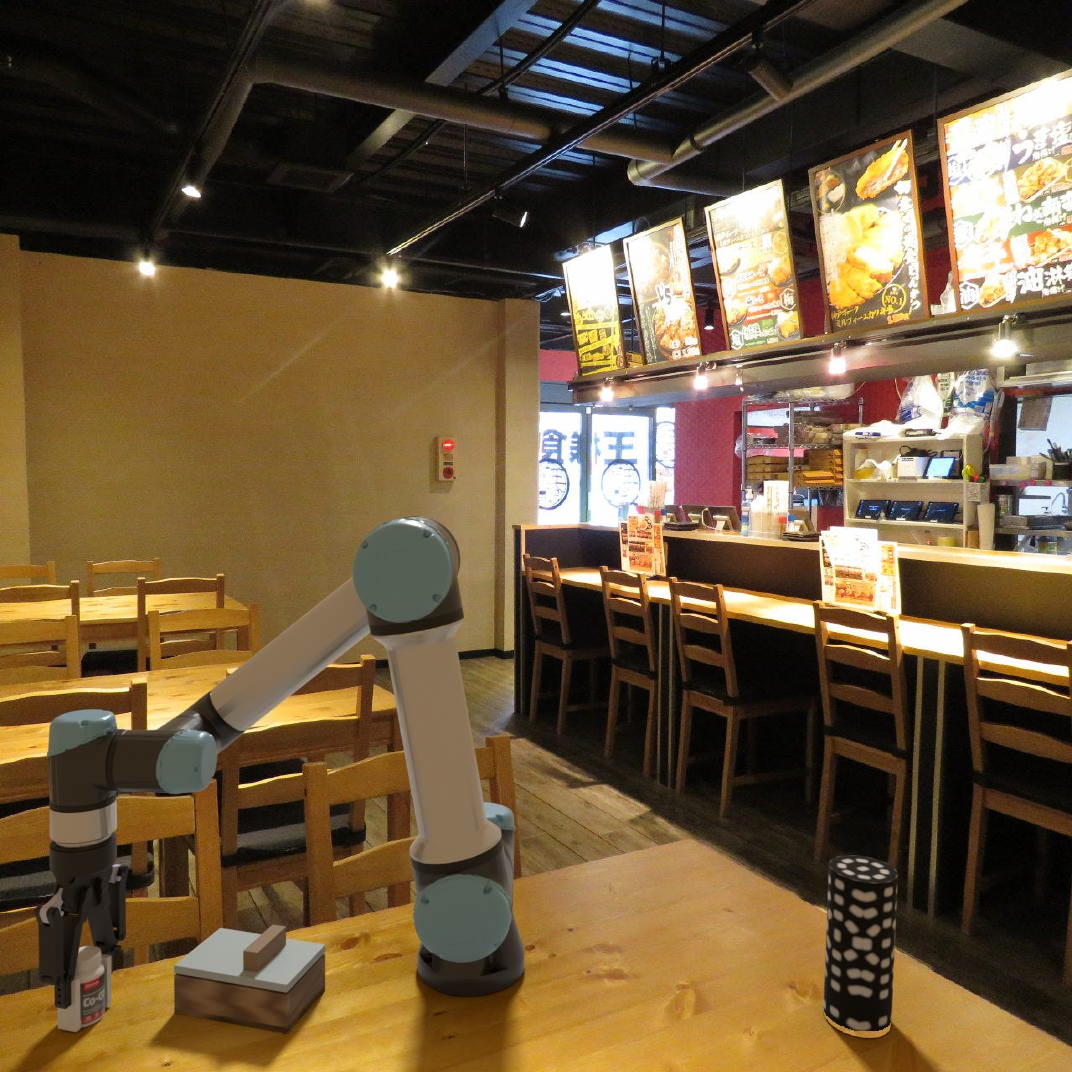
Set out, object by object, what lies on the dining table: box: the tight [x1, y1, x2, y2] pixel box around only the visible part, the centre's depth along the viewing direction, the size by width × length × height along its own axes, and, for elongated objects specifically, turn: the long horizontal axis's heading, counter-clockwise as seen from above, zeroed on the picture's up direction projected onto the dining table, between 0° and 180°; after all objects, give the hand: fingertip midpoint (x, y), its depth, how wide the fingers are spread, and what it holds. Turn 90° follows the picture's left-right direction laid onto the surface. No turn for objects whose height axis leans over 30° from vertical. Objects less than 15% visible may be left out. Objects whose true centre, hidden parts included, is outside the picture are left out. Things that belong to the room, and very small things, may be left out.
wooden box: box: [173, 953, 326, 1035], centre depth 117 cm, size 16×10×5 cm, turn 76°
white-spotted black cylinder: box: [822, 854, 899, 1031], centre depth 115 cm, size 8×8×20 cm
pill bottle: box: [75, 945, 106, 1028], centre depth 112 cm, size 5×5×8 cm
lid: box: [173, 924, 326, 993], centre depth 116 cm, size 16×10×4 cm, turn 76°
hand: (85, 1015), depth 113 cm, fingers closed on pill bottle, 5 cm apart
